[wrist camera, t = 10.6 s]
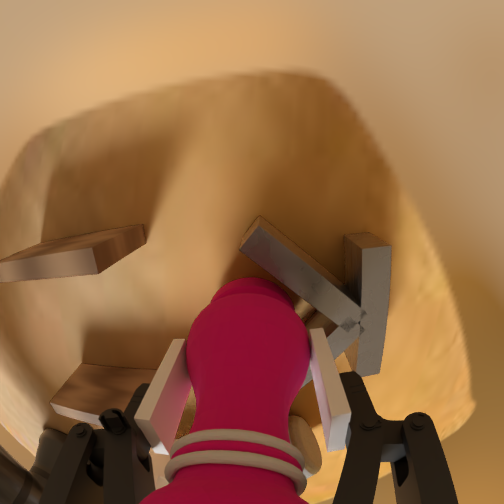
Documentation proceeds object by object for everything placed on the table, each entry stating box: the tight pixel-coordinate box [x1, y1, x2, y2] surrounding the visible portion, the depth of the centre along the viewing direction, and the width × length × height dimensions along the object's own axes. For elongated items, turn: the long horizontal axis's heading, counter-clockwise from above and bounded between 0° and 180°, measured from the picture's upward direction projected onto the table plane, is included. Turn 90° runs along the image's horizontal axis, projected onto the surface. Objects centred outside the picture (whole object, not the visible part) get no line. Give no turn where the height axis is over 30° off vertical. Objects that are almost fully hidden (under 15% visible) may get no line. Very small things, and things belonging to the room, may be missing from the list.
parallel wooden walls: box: [0, 224, 157, 426], centre depth 19 cm, size 12×15×7 cm
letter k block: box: [239, 216, 391, 389], centre depth 19 cm, size 9×14×4 cm, turn 7°
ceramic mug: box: [288, 415, 322, 479], centre depth 21 cm, size 11×8×8 cm
